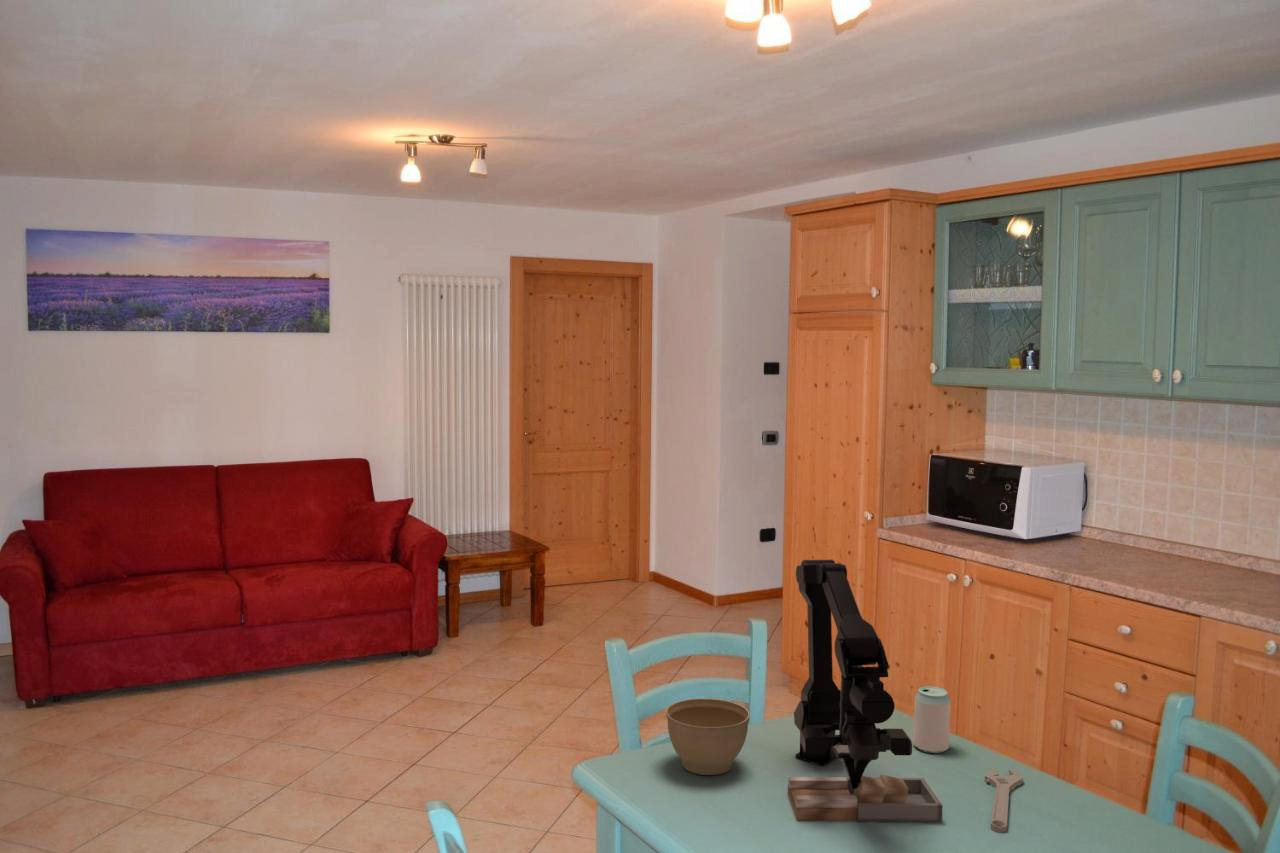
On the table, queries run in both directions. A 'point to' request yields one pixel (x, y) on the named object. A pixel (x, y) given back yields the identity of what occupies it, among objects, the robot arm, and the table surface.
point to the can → (932, 720)
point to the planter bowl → (707, 733)
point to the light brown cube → (894, 789)
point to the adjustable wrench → (1002, 796)
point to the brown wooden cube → (869, 790)
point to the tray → (904, 805)
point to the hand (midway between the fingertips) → (854, 788)
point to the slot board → (822, 798)
